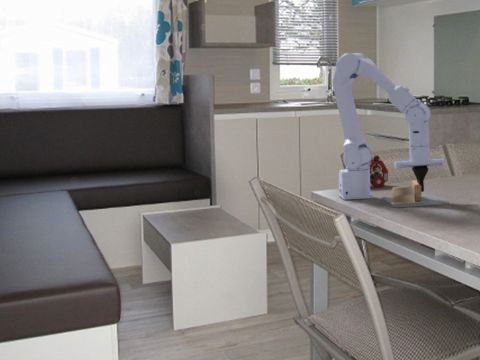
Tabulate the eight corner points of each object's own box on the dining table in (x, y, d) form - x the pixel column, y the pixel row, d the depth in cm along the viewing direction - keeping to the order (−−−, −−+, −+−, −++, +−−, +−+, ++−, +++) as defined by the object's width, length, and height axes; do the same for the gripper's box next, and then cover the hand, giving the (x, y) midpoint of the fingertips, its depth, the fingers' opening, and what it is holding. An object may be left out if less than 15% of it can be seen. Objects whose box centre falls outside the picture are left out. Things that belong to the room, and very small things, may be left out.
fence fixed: (394, 203, 204) (393, 187, 203) (392, 202, 206) (391, 186, 205) (422, 202, 205) (422, 185, 204) (420, 200, 207) (420, 184, 206)
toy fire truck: (390, 187, 235) (390, 156, 233) (353, 189, 234) (352, 157, 233) (385, 184, 241) (385, 153, 240) (349, 185, 241) (349, 155, 240)
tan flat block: (419, 199, 207) (419, 184, 206) (415, 199, 207) (415, 184, 206) (416, 194, 215) (416, 180, 214) (412, 194, 215) (412, 180, 214)
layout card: (394, 207, 201) (394, 205, 201) (381, 198, 215) (381, 196, 215) (449, 204, 202) (449, 202, 202) (433, 195, 216) (433, 194, 216)
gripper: (440, 142, 212) (441, 187, 214) (391, 145, 212) (392, 190, 214) (446, 145, 205) (447, 191, 207) (396, 148, 205) (398, 194, 207)
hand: (420, 191), depth 210 cm, fingers closed, pressing on tan flat block
